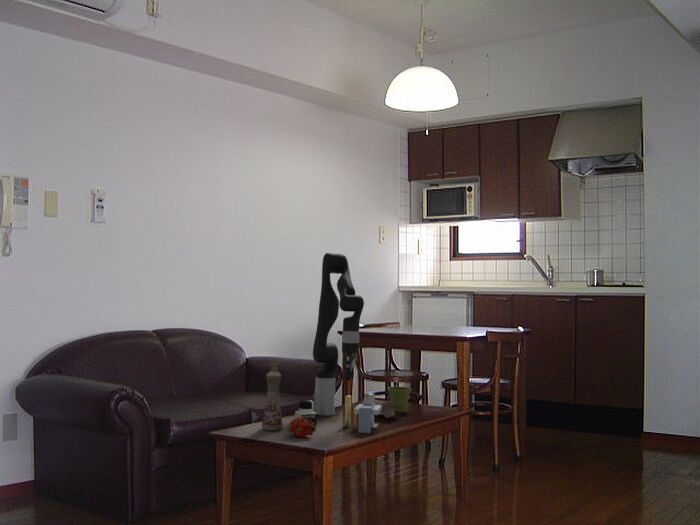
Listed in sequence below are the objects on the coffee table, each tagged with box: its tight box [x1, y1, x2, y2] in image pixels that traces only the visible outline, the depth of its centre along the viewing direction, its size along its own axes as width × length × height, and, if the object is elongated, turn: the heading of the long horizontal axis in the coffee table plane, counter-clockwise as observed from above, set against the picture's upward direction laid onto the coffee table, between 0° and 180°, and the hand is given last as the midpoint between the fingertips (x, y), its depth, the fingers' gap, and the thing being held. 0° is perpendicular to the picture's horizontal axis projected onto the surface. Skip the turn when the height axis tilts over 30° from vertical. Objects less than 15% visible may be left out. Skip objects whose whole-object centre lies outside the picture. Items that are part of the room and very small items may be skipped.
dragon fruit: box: [287, 417, 316, 439], centre depth 321 cm, size 8×8×12 cm
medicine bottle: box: [294, 399, 318, 431], centre depth 339 cm, size 7×7×12 cm
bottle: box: [261, 361, 284, 432], centre depth 336 cm, size 9×9×28 cm
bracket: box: [358, 403, 374, 434], centre depth 340 cm, size 5×12×10 cm, turn 172°
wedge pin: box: [344, 395, 352, 428], centre depth 348 cm, size 3×3×13 cm
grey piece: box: [353, 392, 382, 429], centre depth 345 cm, size 10×14×14 cm
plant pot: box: [386, 386, 412, 414], centre depth 392 cm, size 12×12×11 cm
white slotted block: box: [380, 400, 403, 419], centre depth 372 cm, size 16×9×15 cm
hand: (349, 379), depth 349 cm, fingers open, 8 cm apart
